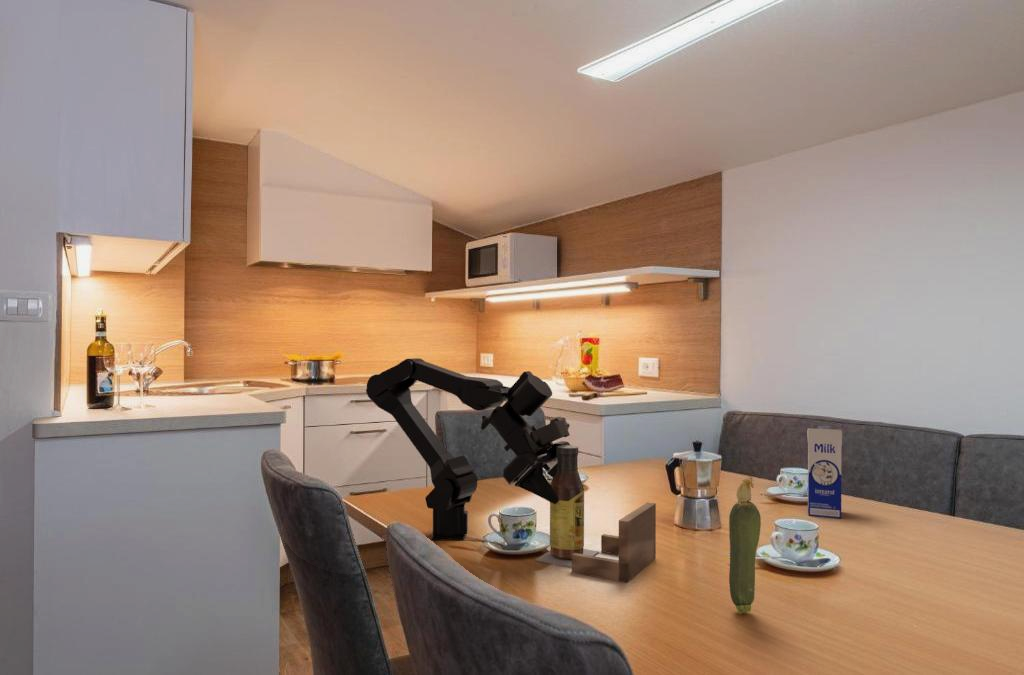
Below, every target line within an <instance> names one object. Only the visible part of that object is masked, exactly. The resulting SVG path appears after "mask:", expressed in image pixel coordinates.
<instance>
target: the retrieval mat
mask: <svg viewBox="0 0 1024 675" xmlns="http://www.w3.org/2000/svg"><path fill="white" fill-rule="evenodd" d="M583 554H584V555H590V556H596V557H597V555H598V554H600V551H597V550H593V549H587V548H583ZM535 562H540V563H545V564H550V565H555V566H561V567H567V568H571V569H572V559H560V558H556V557H554V556H552V555H551V552H550V550H549V551H548V552H546V553H544V554H543V555H541V556H539V557H537V558H536V559H535Z"/></svg>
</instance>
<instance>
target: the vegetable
mask: <svg viewBox="0 0 1024 675" xmlns="http://www.w3.org/2000/svg"><path fill="white" fill-rule="evenodd" d="M753 482H755V480H754V479H753V477H752V476H749V477H746V478H744V479H742V482H741V483H740V484H739V485H738V487H737V490H736V497H737V502H736V503H735V504H734V505H732V508H731V509H730V511H729V512H730V513H729V517H728V518H729V519H728V523H729V524H728V526H729V527H728V529H729V533H728V534H729V572H728V574H729V576H728V584H729V594H730V598H731V601H732V603H733V604H734V606H735V609H736V610H737V612H738V615H739V614H740V615H742V614H743V613H748V612H751V609H752V604H753V603H754V600H755V590H756V589H755V585H756V584H755V583H756V557H757V556H756V555H757V549H758V545H759V541H760V536H761V535H760V534H761V526H762V525H761V524H762V522H761V513H760V511H759V509H758V508H757V505H755V503H753V502H752V489H754V488H755V487H754V483H753Z"/></svg>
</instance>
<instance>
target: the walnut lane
mask: <svg viewBox="0 0 1024 675" xmlns="http://www.w3.org/2000/svg"><path fill="white" fill-rule="evenodd" d="M656 507H657V504H656V503H655V502H646V503H644V504H643V505H641V506H639V507H638V508H636V509H635V510H633V511H631V512H630V513H628V514H627V515H625V516H624V517H622V518H620V519H619V520H618V535H612V534H605V533H603V534H602V535H601V536H600V538H601V540H600V545H601V546H600V550H601V552H602V553H609V554H614V555H618V559H613V558H612V559H611V558H607V557H601V556H597V555H596V556H590V555H584V554H579V553H573V554H572V568H571V573H573V574H580V575H586V576H590V577H594V578H602V579H605V580H611V581H617V582H622V583H629V582H631V581H632V580H633V579H634V578H636V577H637V575H639V574H640V573H641V572H642V571H643V570H644V569H645V568H647V567H648V566H649V565H650V564H651V563H653V561H655V559H656V554H657V553H656V548H657V547H656V544H657V542H656V540H657V537H656V536H657V535H656V533H657V532H656V530H657V528H656V527H657V525H656V524H657V522H656V521H657V512H656V511H657V509H656Z"/></svg>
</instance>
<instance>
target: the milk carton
mask: <svg viewBox="0 0 1024 675" xmlns="http://www.w3.org/2000/svg"><path fill="white" fill-rule="evenodd" d="M806 433H807V434H806V435H807V437H806V438H807V514H808V515H807V516H809V517H821V518H831V519H832V518H833V519H842V465H843V464H842V462H843V461H842V450H843V449H842V447H843V446H842V445H843V429H836V428H835V429H834V428H833V429H832V427H831V426H829V425H818V426H817V428H813V427H812V428H810V427H808V428H807V432H806Z"/></svg>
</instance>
